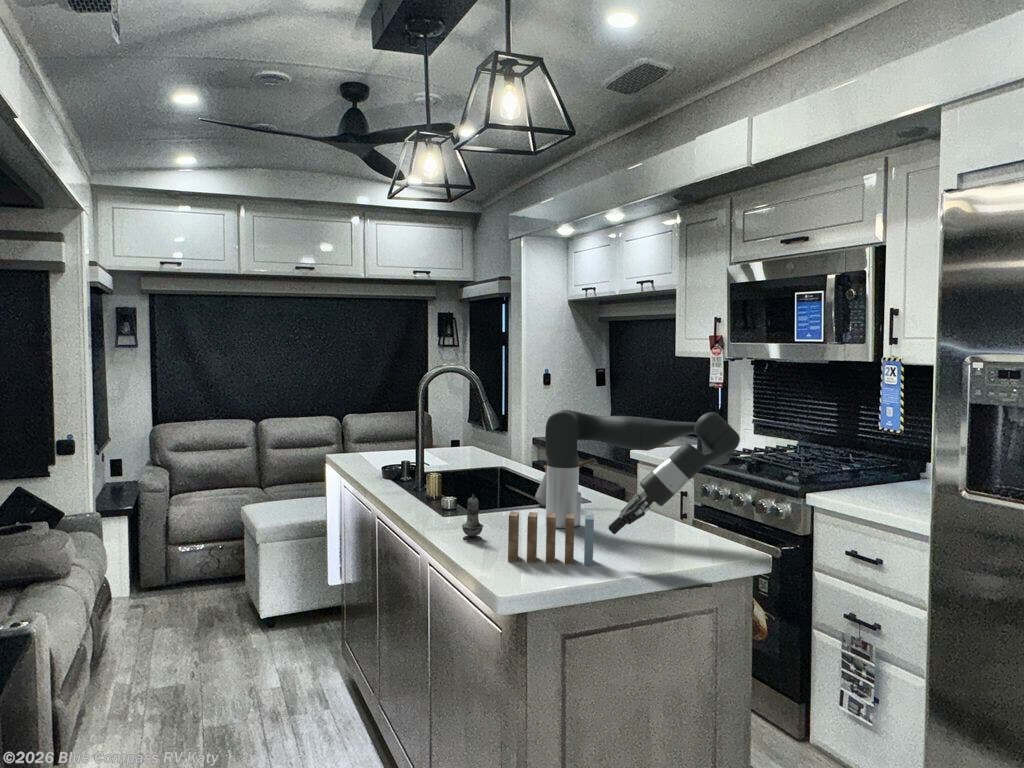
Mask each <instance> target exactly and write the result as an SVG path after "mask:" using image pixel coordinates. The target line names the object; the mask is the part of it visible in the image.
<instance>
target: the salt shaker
mask: <svg viewBox="0 0 1024 768" xmlns="http://www.w3.org/2000/svg"><path fill="white" fill-rule="evenodd" d="M466 509H467V510H466V511H465V512H466V521H465V523H463V524H461V527H462V531H463V533H464V534H465V535H464V536H463V537H462V538H463V539H462V540H463V541H465V540H467V541H466V542H478V541H477V540H480V541H482V540H483V537H481V535H480V534H481V533H482V531H483V528H484V527H485V525H484V524H482V523H480V521H479V520H480V519H479V513H480V512H481V511H480V510H479V499H478V498H477V497H475V494H474V493H473V494H472V495H471V497H469V498H468V499H467V508H466ZM481 539H482V540H481Z"/></svg>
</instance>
